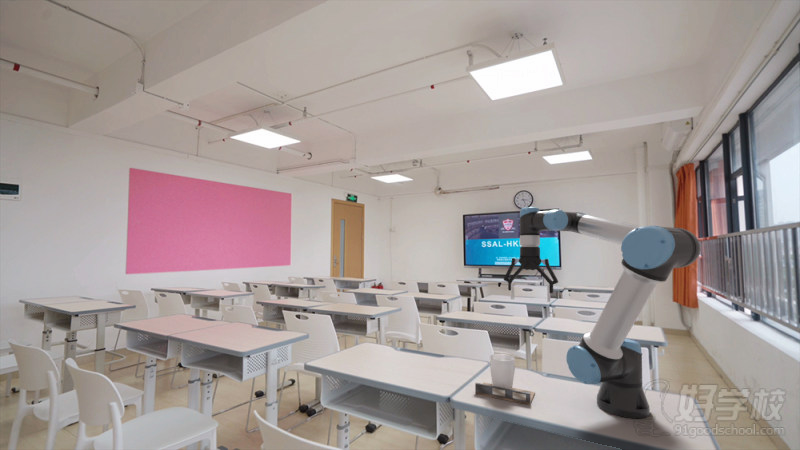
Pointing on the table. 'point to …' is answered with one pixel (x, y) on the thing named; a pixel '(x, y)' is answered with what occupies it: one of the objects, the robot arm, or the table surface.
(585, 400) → the table surface
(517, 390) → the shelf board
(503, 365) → the cup
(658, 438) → the table surface
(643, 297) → the robot arm
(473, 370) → the table surface
